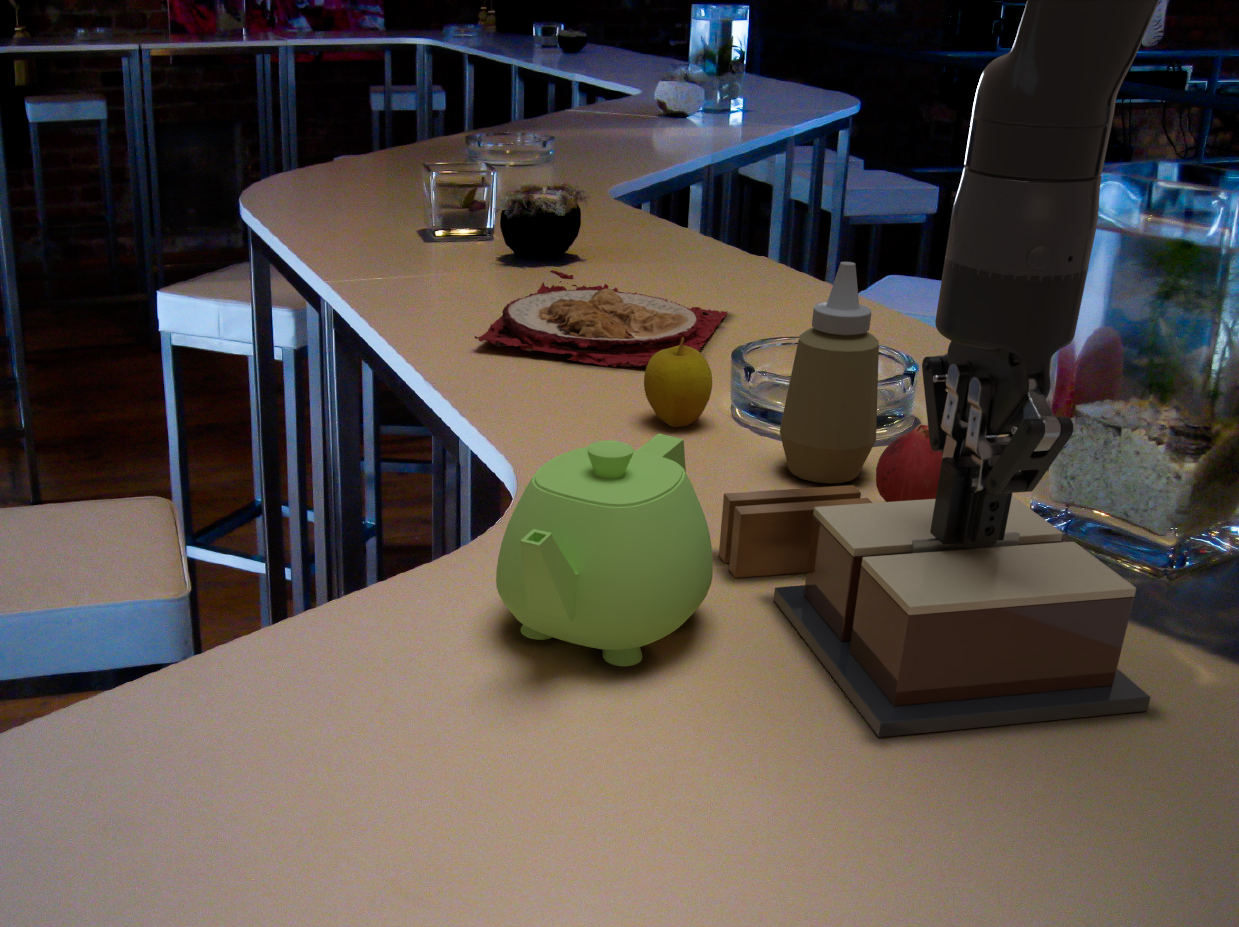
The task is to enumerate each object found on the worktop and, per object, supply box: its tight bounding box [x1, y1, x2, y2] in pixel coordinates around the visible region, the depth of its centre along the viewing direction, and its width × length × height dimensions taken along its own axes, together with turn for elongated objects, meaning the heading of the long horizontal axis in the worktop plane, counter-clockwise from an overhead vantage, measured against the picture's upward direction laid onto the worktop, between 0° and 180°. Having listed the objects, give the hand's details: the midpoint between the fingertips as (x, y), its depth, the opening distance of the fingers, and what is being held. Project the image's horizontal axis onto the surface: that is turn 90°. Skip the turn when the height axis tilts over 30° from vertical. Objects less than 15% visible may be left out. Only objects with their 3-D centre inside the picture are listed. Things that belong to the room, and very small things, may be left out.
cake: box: [773, 495, 1151, 738], centre depth 79 cm, size 17×17×8 cm
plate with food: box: [474, 269, 728, 368], centre depth 146 cm, size 24×26×4 cm
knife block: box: [718, 484, 873, 579], centre depth 92 cm, size 10×4×5 cm, turn 100°
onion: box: [875, 422, 943, 502], centre depth 98 cm, size 6×6×8 cm
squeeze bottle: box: [779, 261, 880, 484], centre depth 105 cm, size 8×8×18 cm
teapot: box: [495, 433, 714, 667], centre depth 81 cm, size 20×13×13 cm
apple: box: [643, 337, 713, 428], centre depth 118 cm, size 6×6×8 cm
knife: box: [910, 455, 1020, 554], centre depth 78 cm, size 7×2×12 cm, turn 100°
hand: (966, 536), depth 78 cm, fingers closed on knife, 2 cm apart
